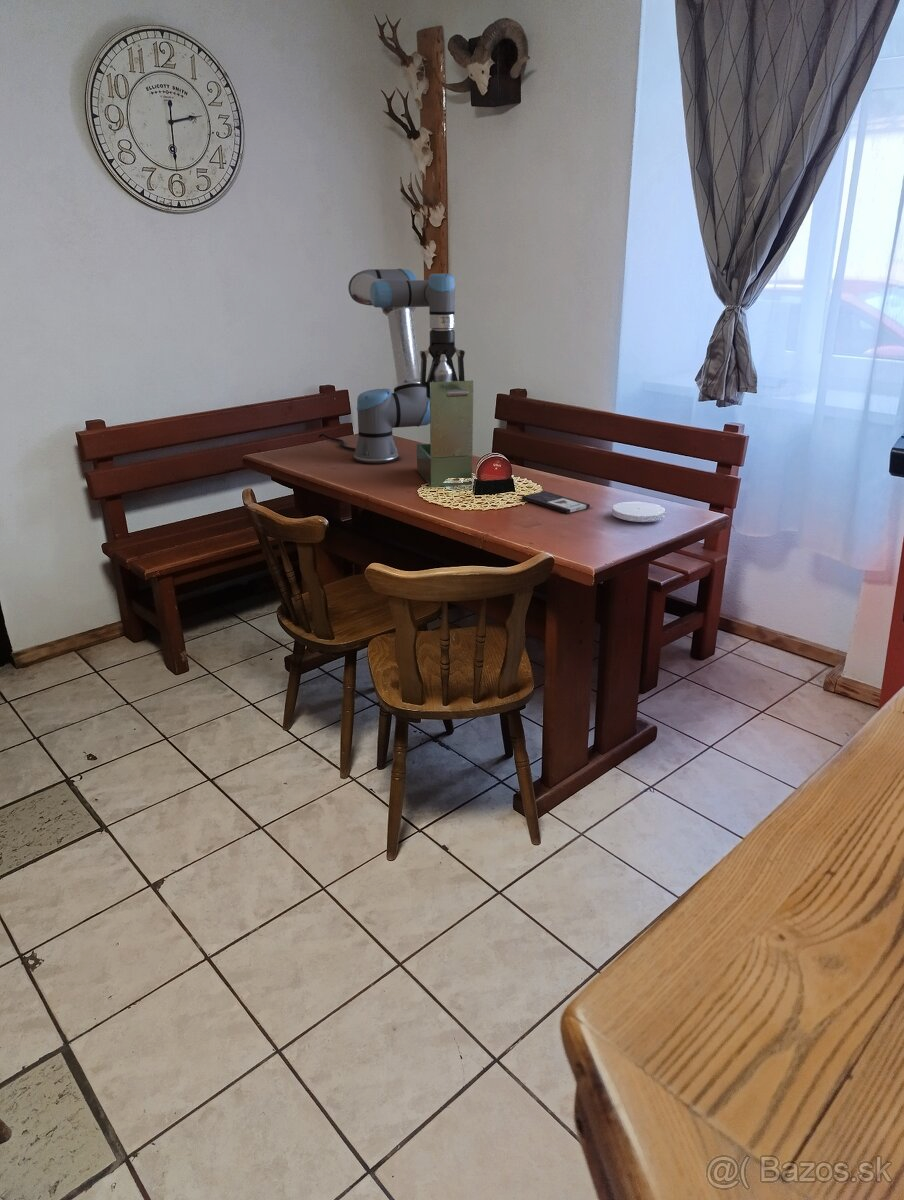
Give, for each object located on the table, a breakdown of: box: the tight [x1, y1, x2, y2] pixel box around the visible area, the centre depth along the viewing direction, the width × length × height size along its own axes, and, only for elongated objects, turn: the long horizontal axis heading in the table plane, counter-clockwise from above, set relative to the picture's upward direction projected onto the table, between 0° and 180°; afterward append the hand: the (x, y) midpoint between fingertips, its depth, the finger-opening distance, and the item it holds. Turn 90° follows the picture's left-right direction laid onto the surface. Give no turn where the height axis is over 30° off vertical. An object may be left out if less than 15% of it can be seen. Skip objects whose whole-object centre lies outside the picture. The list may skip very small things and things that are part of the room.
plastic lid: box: [611, 501, 667, 523], centre depth 218 cm, size 14×14×2 cm
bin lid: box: [429, 380, 474, 458], centre depth 238 cm, size 22×13×8 cm
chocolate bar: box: [521, 490, 590, 514], centre depth 231 cm, size 9×1×18 cm
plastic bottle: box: [433, 354, 453, 382], centre depth 248 cm, size 6×7×20 cm
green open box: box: [416, 443, 473, 488], centre depth 257 cm, size 21×13×9 cm, turn 14°
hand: (442, 408), depth 250 cm, fingers closed on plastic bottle, 6 cm apart
